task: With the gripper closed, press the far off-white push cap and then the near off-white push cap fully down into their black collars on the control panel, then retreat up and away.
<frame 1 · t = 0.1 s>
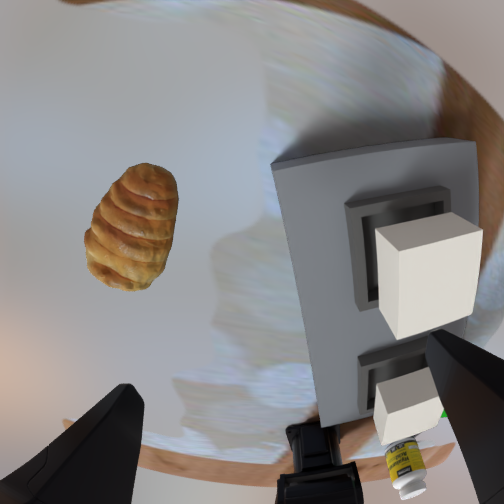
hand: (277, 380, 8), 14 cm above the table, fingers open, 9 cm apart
pastry: (136, 225, 22), on the table
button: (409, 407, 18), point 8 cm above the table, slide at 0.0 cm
supplement bottle: (399, 444, 34), on the table
panel: (381, 292, 23), on the table
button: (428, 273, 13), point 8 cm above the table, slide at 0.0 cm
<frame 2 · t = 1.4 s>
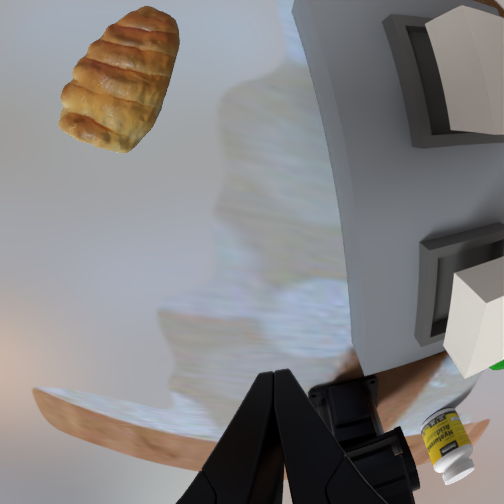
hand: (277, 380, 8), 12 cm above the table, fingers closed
polyhedron: (488, 331, 22), on the table
pastry: (125, 86, 15), on the table
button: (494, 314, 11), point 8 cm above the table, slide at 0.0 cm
supplement bottle: (436, 418, 28), on the table
panel: (430, 175, 17), on the table
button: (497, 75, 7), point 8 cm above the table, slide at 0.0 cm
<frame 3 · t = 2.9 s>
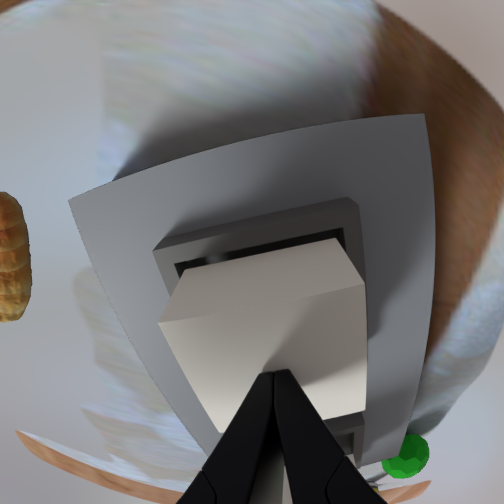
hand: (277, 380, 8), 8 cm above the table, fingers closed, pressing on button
polyhedron: (399, 437, 23), on the table
pastry: (7, 253, 16), on the table
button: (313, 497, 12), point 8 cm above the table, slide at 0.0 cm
panel: (290, 345, 17), on the table
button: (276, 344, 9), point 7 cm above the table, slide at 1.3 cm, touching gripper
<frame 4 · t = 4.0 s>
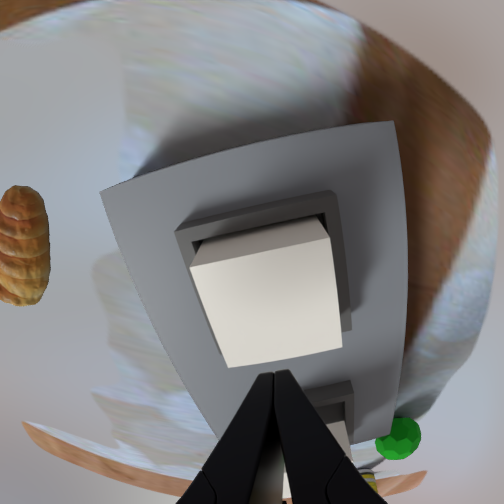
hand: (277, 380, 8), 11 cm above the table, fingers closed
polyhedron: (392, 420, 25), on the table
pastry: (26, 243, 19), on the table
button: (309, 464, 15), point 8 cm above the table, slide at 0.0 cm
supplement bottle: (354, 474, 31), on the table
panel: (287, 323, 20), on the table
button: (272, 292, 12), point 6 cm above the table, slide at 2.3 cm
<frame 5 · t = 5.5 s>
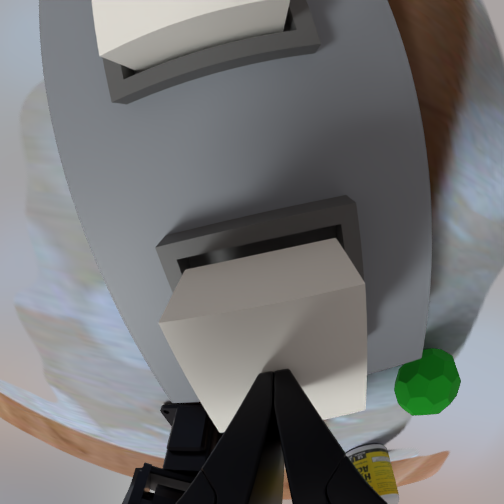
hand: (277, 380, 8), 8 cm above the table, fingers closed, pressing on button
polyhedron: (415, 359, 19), on the table
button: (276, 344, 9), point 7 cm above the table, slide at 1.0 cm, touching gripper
supplement bottle: (361, 453, 24), on the table
panel: (242, 140, 13), on the table
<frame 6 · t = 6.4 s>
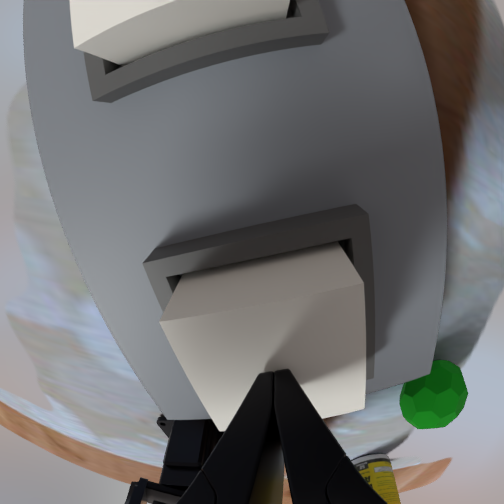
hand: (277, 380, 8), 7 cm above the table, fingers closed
polyhedron: (421, 370, 17), on the table
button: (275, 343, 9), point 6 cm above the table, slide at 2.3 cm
supplement bottle: (363, 462, 23), on the table
panel: (240, 141, 12), on the table
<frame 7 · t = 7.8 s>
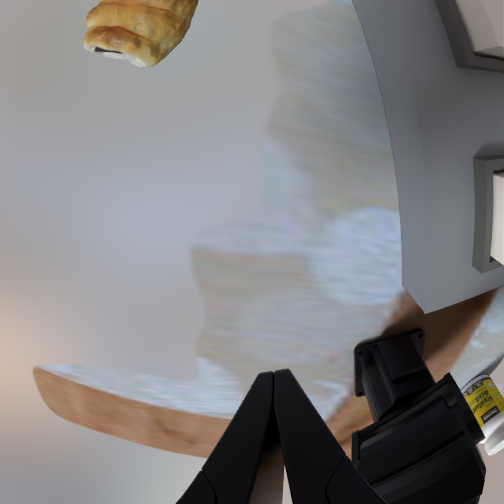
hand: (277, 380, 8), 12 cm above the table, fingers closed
pastry: (150, 14, 13), on the table
supplement bottle: (471, 387, 26), on the table
panel: (466, 111, 15), on the table
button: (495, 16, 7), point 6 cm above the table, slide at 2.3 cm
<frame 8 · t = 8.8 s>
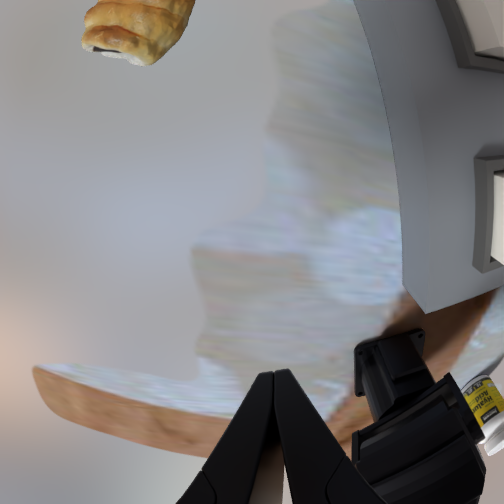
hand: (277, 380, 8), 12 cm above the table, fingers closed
pastry: (148, 13, 13), on the table
supplement bottle: (471, 387, 26), on the table
panel: (467, 112, 15), on the table
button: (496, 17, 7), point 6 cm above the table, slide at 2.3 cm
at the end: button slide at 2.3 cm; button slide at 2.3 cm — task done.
